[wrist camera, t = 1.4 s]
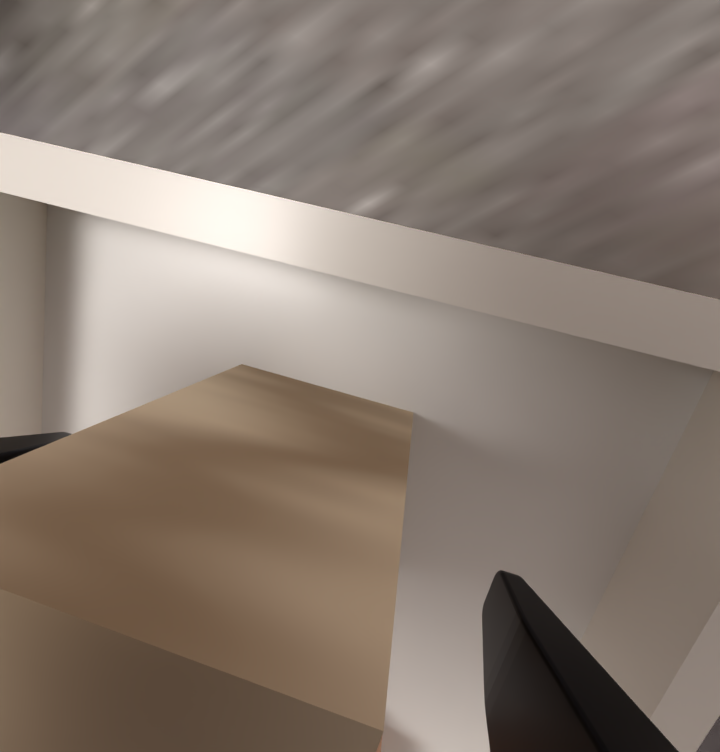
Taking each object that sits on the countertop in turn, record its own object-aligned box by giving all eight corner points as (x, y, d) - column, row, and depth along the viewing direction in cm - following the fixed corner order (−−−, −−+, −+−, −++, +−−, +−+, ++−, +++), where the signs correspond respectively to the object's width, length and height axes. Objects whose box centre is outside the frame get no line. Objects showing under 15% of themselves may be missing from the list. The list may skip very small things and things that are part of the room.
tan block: (413, 412, 9) (383, 730, 3) (369, 563, 10) (268, 1055, 4) (242, 363, 10) (-157, 529, 3) (217, 513, 11) (-115, 873, 4)
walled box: (769, 330, 8) (957, 354, 5) (444, 957, 14) (449, 1126, 11) (33, 156, 10) (-126, 103, 7) (23, 777, 16) (-65, 884, 13)
